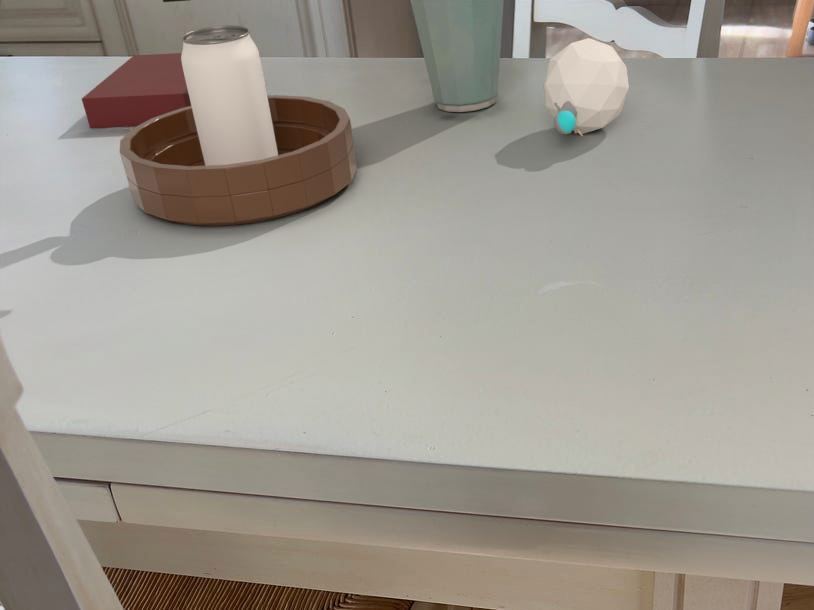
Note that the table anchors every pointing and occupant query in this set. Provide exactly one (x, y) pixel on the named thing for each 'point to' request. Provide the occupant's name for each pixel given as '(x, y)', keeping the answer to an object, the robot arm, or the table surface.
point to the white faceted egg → (585, 86)
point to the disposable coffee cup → (461, 50)
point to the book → (138, 92)
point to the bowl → (240, 166)
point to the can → (228, 95)
